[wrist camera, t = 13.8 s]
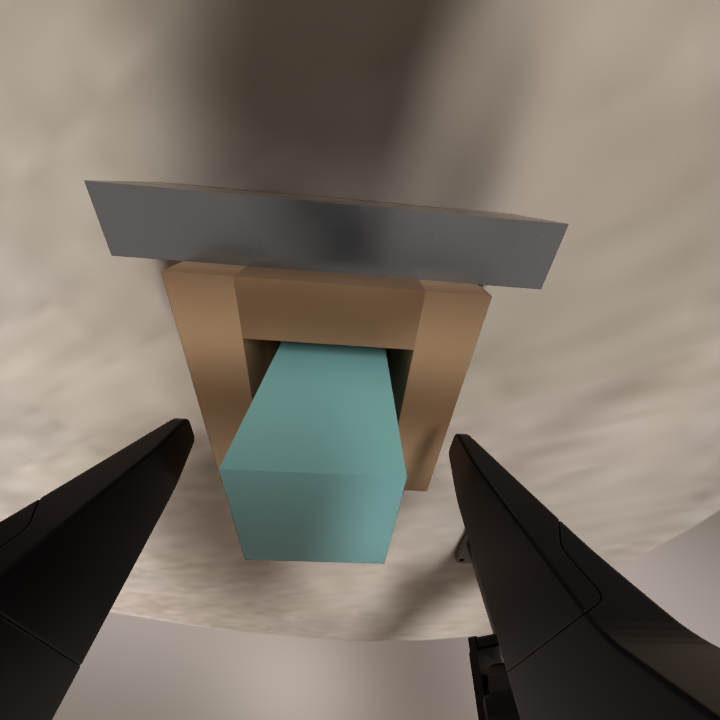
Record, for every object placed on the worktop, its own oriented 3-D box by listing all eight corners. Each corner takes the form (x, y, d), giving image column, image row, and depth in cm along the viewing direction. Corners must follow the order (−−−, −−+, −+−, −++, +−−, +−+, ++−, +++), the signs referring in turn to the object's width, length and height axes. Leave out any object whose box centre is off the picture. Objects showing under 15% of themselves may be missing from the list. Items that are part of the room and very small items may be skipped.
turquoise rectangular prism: (371, 381, 16) (384, 563, 8) (300, 377, 16) (244, 559, 8) (379, 315, 14) (406, 476, 6) (297, 309, 14) (219, 468, 6)
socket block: (411, 423, 17) (426, 490, 13) (252, 414, 17) (221, 482, 13) (450, 261, 12) (491, 296, 8) (224, 243, 12) (160, 270, 8)
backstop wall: (497, 264, 12) (541, 289, 10) (173, 238, 12) (111, 255, 9) (513, 214, 11) (568, 224, 8) (159, 182, 11) (83, 180, 8)
